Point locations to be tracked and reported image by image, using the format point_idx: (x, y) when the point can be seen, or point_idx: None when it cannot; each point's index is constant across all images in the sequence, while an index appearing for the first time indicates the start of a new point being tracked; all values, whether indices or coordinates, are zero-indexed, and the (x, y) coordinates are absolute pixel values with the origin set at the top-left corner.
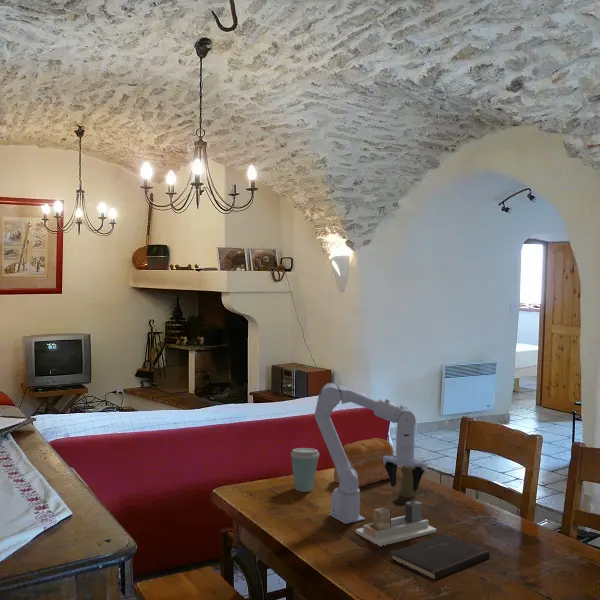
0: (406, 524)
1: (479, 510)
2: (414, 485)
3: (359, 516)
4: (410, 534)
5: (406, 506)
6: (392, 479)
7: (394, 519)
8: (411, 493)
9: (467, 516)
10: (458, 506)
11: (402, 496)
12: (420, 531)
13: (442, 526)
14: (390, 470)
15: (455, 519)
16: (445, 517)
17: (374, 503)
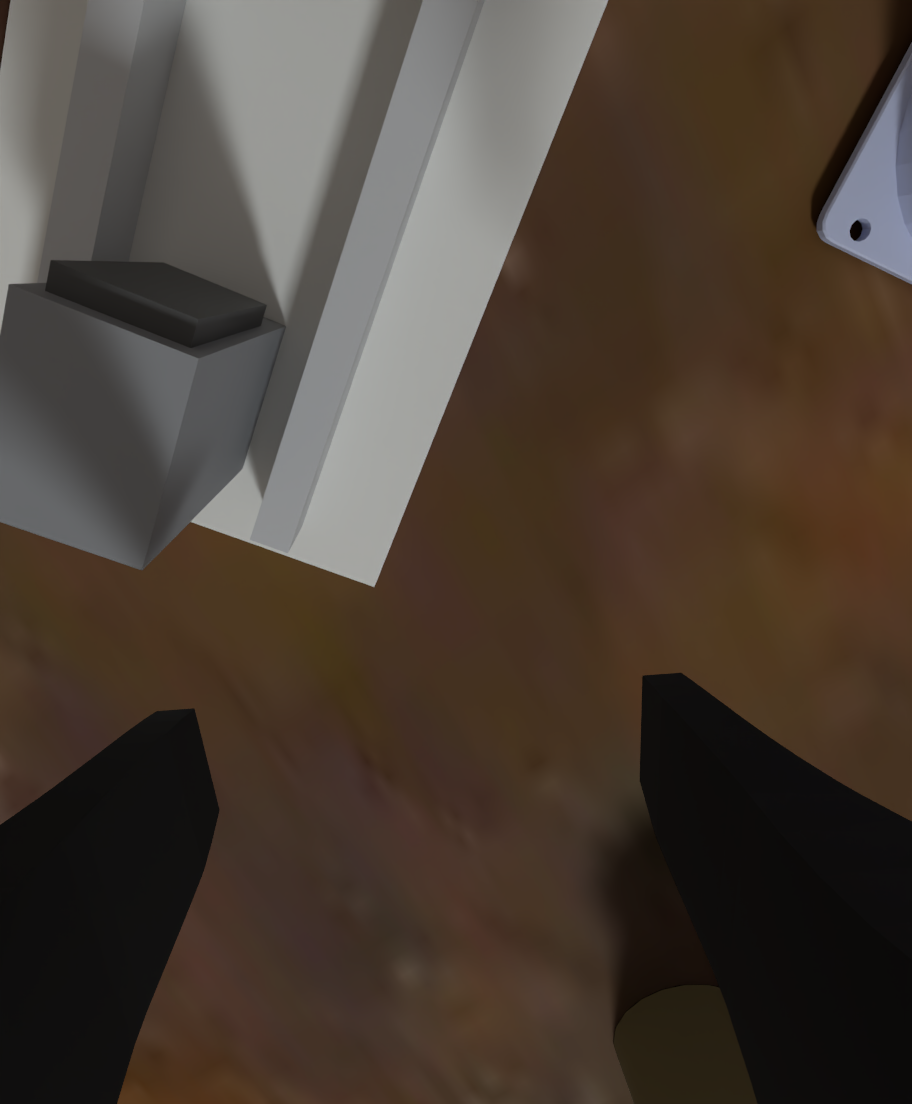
0: (115, 101)
1: None
2: (101, 770)
3: (907, 238)
4: (34, 28)
5: (170, 302)
6: (707, 756)
7: (365, 186)
8: (646, 1047)
9: None
10: (225, 1050)
11: (713, 990)
12: (15, 227)
13: (33, 606)
14: (902, 916)
15: None
16: None
17: (888, 733)
